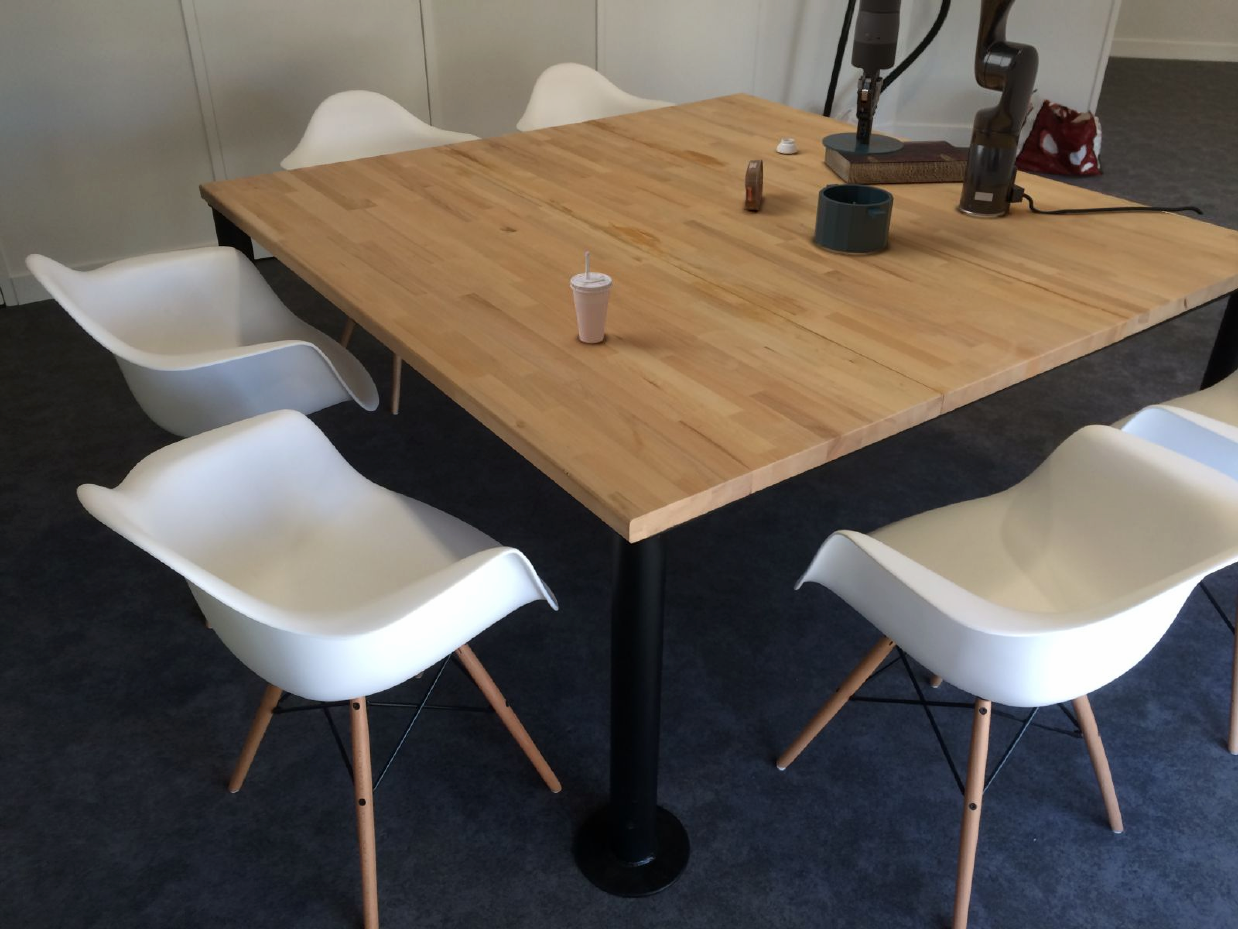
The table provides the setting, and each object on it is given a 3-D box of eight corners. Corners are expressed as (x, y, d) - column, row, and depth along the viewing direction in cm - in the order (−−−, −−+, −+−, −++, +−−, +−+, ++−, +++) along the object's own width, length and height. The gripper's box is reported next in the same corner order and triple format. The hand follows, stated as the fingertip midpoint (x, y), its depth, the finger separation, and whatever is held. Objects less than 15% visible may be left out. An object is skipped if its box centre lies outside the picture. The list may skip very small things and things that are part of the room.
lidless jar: (801, 152, 261) (785, 148, 264) (802, 140, 259) (786, 136, 262) (788, 155, 258) (772, 151, 261) (789, 143, 256) (773, 139, 259)
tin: (756, 215, 218) (759, 174, 214) (741, 214, 219) (744, 173, 215) (763, 194, 231) (766, 155, 227) (748, 193, 232) (751, 154, 227)
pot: (857, 224, 214) (863, 177, 209) (907, 256, 198) (914, 206, 193) (796, 230, 210) (800, 183, 205) (841, 263, 195) (847, 212, 190)
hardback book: (941, 159, 256) (944, 138, 253) (972, 182, 240) (976, 159, 238) (824, 162, 253) (826, 141, 250) (847, 185, 237) (850, 162, 235)
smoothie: (570, 330, 168) (568, 245, 161) (610, 329, 169) (610, 244, 161) (572, 347, 163) (570, 259, 155) (613, 346, 163) (614, 258, 156)
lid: (877, 135, 203) (881, 103, 200) (918, 155, 191) (923, 121, 188) (808, 141, 199) (811, 108, 196) (845, 161, 187) (849, 127, 184)
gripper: (892, 45, 178) (879, 150, 187) (902, 33, 190) (888, 131, 199) (848, 43, 180) (836, 146, 189) (860, 30, 192) (848, 128, 201)
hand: (863, 138), depth 194 cm, fingers closed on lid, 2 cm apart
